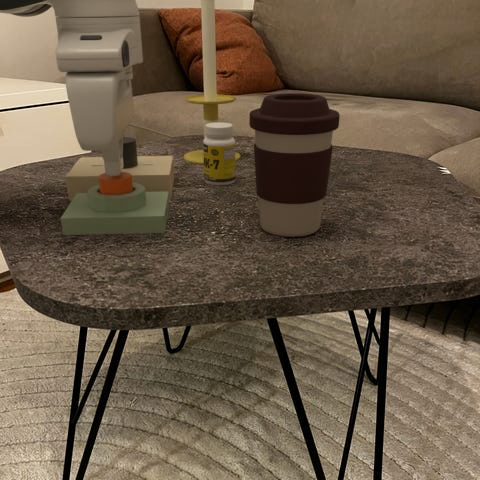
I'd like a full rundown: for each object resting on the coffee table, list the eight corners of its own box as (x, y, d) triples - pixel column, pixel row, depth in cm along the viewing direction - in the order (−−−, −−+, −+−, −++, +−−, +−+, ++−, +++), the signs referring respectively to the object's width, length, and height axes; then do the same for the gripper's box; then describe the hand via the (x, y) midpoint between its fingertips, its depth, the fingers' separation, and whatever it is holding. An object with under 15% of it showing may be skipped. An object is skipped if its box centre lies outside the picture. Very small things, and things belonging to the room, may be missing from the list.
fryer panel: (68, 201, 81) (65, 175, 79) (83, 180, 91) (80, 156, 89) (170, 199, 82) (169, 173, 80) (174, 178, 92) (173, 154, 90)
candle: (239, 164, 99) (238, -21, 86) (180, 164, 99) (170, -21, 87) (241, 150, 108) (240, -20, 95) (187, 150, 108) (179, -19, 95)
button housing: (63, 235, 69) (57, 202, 68) (78, 209, 78) (74, 179, 76) (165, 233, 70) (163, 200, 68) (169, 207, 79) (167, 177, 77)
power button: (97, 197, 71) (95, 180, 70) (102, 187, 74) (100, 171, 73) (131, 196, 71) (129, 179, 70) (134, 187, 74) (133, 171, 73)
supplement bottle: (197, 182, 90) (195, 124, 86) (220, 176, 93) (219, 120, 89) (219, 188, 87) (218, 129, 83) (242, 182, 90) (241, 124, 86)
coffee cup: (333, 216, 75) (342, 91, 68) (328, 245, 66) (339, 105, 59) (256, 212, 77) (257, 89, 69) (242, 239, 68) (242, 102, 61)
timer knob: (136, 168, 83) (133, 141, 81) (104, 169, 83) (101, 141, 81) (139, 161, 87) (137, 134, 85) (109, 161, 87) (106, 135, 85)
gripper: (88, 41, 74) (102, 153, 80) (50, 54, 56) (71, 197, 62) (139, 40, 74) (148, 152, 80) (118, 53, 56) (132, 196, 62)
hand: (115, 172), depth 71 cm, fingers closed
